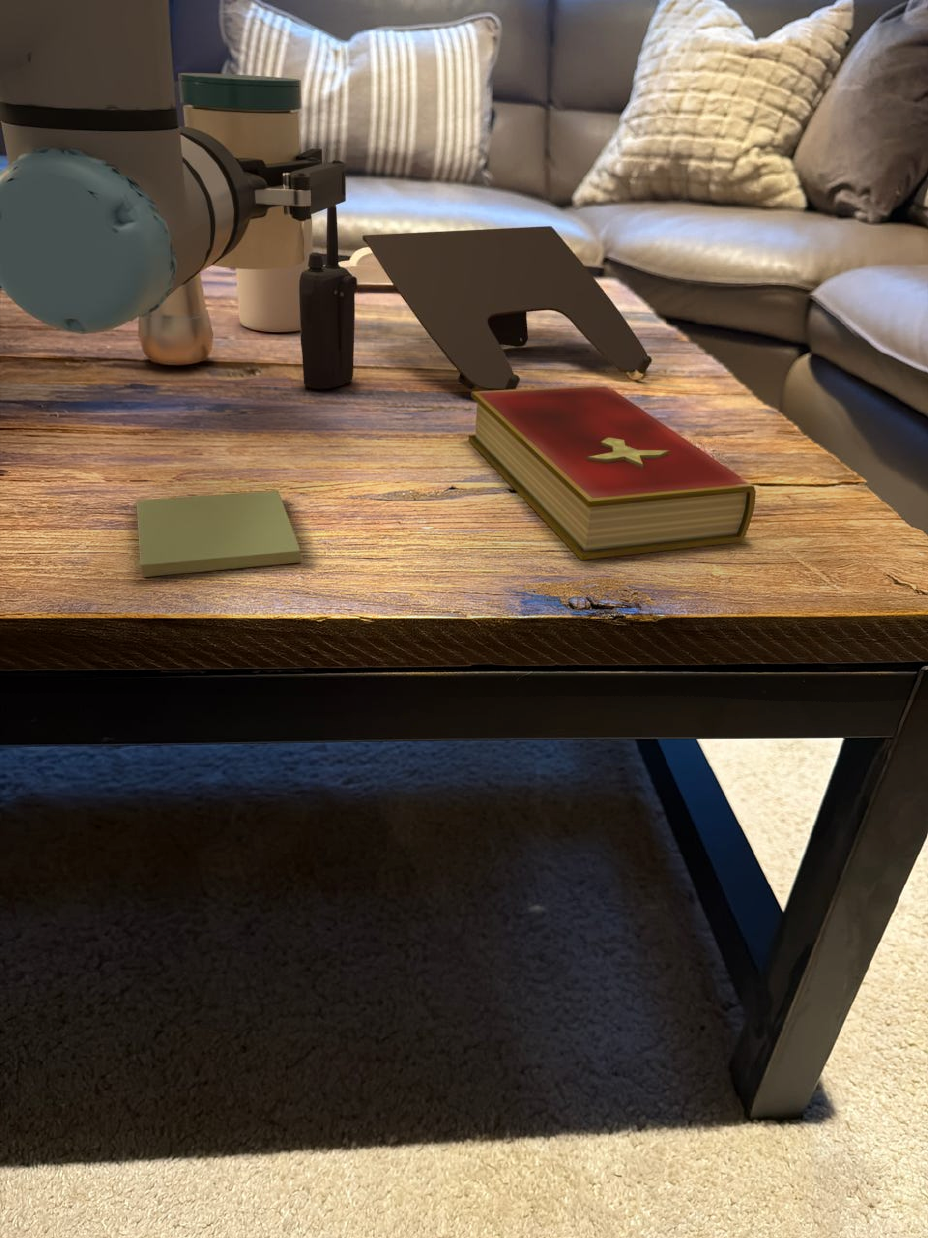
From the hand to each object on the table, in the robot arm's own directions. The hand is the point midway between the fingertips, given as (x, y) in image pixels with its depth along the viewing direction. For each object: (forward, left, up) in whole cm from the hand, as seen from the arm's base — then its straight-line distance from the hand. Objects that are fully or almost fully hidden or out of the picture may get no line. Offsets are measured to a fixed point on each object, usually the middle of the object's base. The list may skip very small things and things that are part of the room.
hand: (260, 164), depth 73 cm
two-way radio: (-2, +6, -18) cm, 19 cm away
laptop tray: (-7, +25, -18) cm, 32 cm away
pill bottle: (-24, +4, -18) cm, 30 cm away
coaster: (+26, -7, -18) cm, 33 cm away
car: (-41, +18, -18) cm, 48 cm away
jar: (+4, -2, -6) cm, 8 cm away
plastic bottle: (-11, -7, -18) cm, 22 cm away
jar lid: (+4, -2, +6) cm, 7 cm away
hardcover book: (+23, +20, -18) cm, 36 cm away
